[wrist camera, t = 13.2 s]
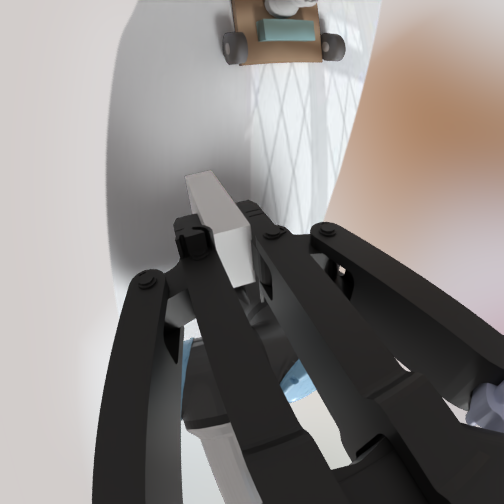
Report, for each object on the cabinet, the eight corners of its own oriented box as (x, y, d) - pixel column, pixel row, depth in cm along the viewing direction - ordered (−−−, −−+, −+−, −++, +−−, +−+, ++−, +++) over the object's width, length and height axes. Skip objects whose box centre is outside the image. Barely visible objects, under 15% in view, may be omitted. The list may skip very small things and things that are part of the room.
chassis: (329, 62, 33) (346, 63, 30) (224, 67, 30) (234, 66, 27) (318, -36, 22) (334, -43, 19) (210, -43, 19) (218, -56, 15)
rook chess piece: (257, -3, 24) (284, -18, 18) (285, -11, 24) (317, -25, 18) (272, 23, 27) (302, 14, 21) (299, 14, 27) (332, 6, 21)
